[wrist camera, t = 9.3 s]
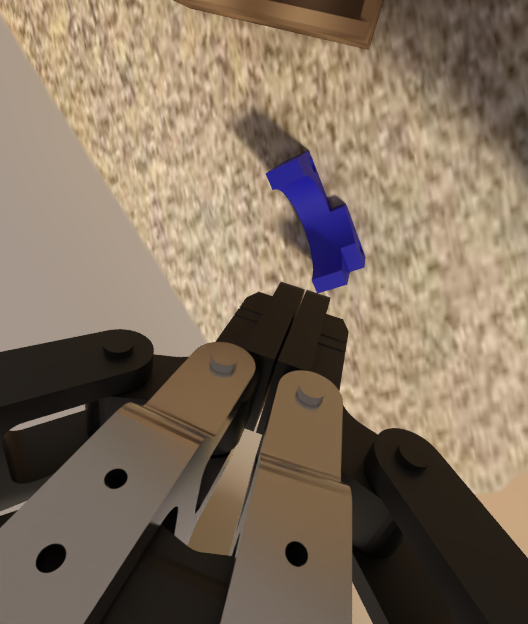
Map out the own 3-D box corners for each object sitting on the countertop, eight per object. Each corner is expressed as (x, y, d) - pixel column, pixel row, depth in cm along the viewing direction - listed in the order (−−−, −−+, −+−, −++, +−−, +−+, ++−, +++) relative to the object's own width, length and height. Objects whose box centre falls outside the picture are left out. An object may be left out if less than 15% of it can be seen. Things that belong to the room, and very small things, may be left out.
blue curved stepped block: (365, 256, 39) (362, 279, 34) (325, 269, 41) (317, 293, 36) (323, 142, 35) (313, 150, 30) (281, 163, 37) (265, 173, 32)
